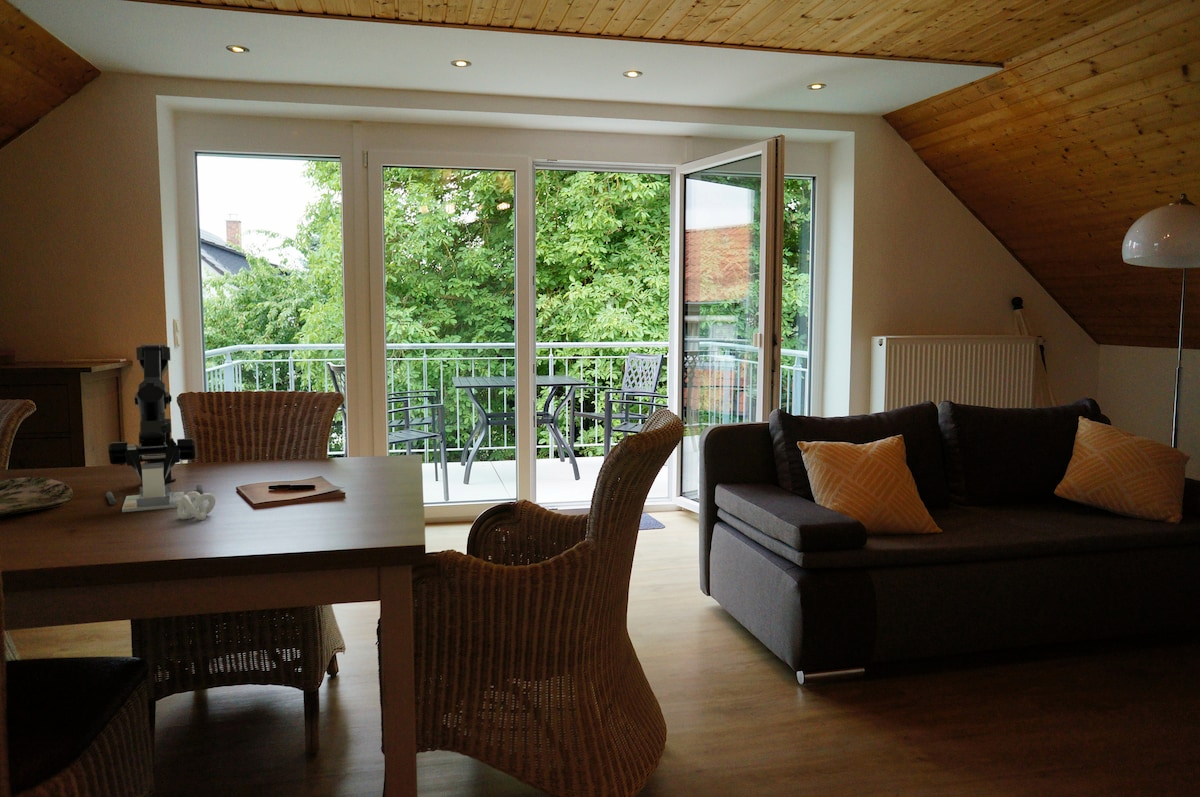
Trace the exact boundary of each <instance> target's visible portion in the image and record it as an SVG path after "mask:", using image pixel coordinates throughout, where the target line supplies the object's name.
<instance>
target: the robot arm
mask: <svg viewBox="0 0 1200 797" xmlns="http://www.w3.org/2000/svg"><path fill="white" fill-rule="evenodd" d="M140 345H141V346H138V347H137V346H136V347H135V351H136V352H135V354H136V355H135V356H136V357H135V358H136V362H139V366H140V370H141V371H142V372H143V381H141V382H140V383H139V384H138V391H137V392H135V395H134V405H135V407H138V412H139V432H138V445H137V444H128V441H117V442H116V441H115V442H110V443H109V444H108V450H107V451H108V458H109V464H111V465H126V466H128V467H132V469H133V470H134V471H135V472H136V474H137V476H138V477H139V479H140V483H142V484H143V482H142V463H143V462H144V463H160V462H163V464H164V471H163V473H164V484H165V483H171V482H174V481H177V479H176V478H173V477H172V468H173V467H174V466H175V465H176V464H178V463H180V462H181V461H189V460H194V459H196V445H195V443H196V441H195V440H194V438H191V437H190V438H176V442H175V440H174V437H171V433H172V419H171V418H166V412H165V410H167V406H170V404H171V402H172V395H171V394H170V392H169V391H166V390H167V387H166V383H165V382H164V381H163V376H164V374H165V373H166V372H167V370H169V362H171V347H170V346H166V344H140Z"/></svg>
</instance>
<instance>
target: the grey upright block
mask: <svg viewBox="0 0 1200 797" xmlns="http://www.w3.org/2000/svg"><path fill="white" fill-rule="evenodd" d="M141 467H142V482H143V483H142V487H143V498H151V497H164V496H165V486H164V485H165V483H164V473H163V471H164V464H163V462H160V463H145V462H144V463H141Z"/></svg>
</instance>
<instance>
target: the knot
mask: <svg viewBox="0 0 1200 797" xmlns="http://www.w3.org/2000/svg"><path fill="white" fill-rule="evenodd" d="M192 498H193V499H195V500H194V501H193V500H192ZM206 500H208V502H207V506H206V503H205V501H206ZM215 506H216V498H215V495H213V493H210V492H205V493H204V492H203V494H202V495H201V494H200V493H198V492H197V490H195V491H189V492H187V493H186V494H184V496H182V499H181V501H180V503H179V505H178V508H177V511H176V513H177V516H178V518H179V519H180V520H183V521H184V520H185V521H186V520H188V519H189V518H191V517H192V516H193V518H195V519H196V520H199V521H204V520H205V519H206V518H207V515H209V513H211V512H212V511H213V510H214V508H215ZM185 508H186V512H185Z"/></svg>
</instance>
